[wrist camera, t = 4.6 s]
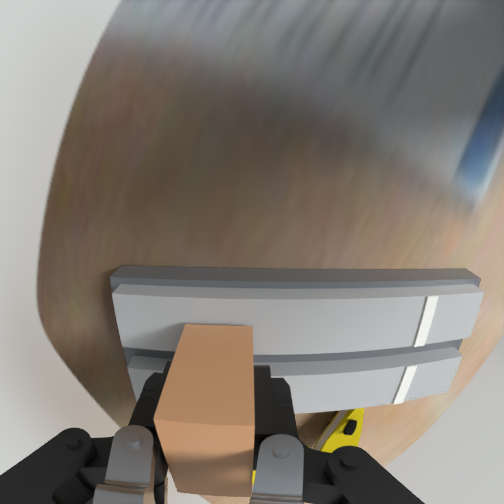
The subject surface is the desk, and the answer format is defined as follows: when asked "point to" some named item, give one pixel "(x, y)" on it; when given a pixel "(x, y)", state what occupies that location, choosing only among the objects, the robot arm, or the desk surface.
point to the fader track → (309, 326)
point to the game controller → (339, 432)
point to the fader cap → (210, 411)
